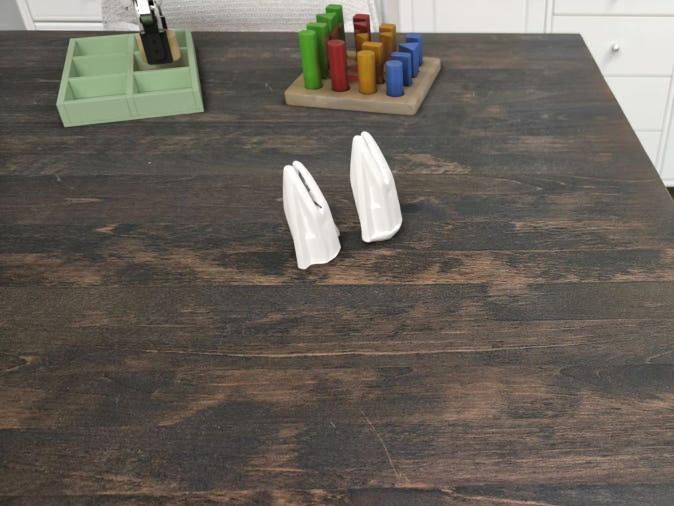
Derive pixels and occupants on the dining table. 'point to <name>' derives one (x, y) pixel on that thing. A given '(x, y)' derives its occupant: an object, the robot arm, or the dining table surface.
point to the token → (172, 43)
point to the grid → (126, 81)
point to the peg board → (360, 67)
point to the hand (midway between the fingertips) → (160, 54)
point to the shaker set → (314, 214)
